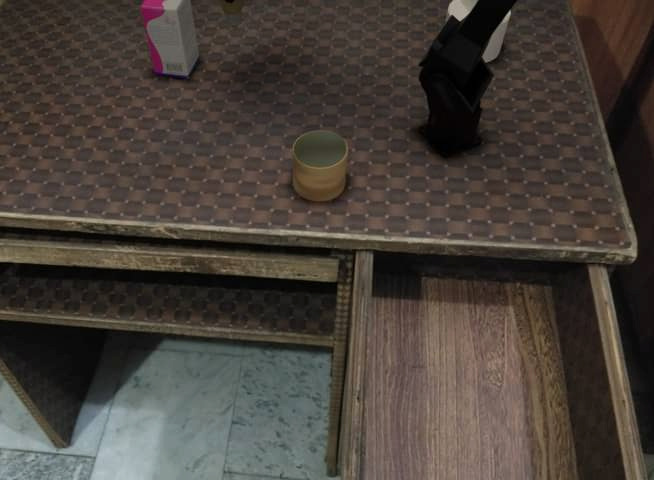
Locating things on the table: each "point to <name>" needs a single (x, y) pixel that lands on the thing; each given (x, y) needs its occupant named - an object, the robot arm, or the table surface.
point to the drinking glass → (464, 5)
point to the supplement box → (171, 36)
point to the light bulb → (232, 12)
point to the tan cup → (319, 165)
